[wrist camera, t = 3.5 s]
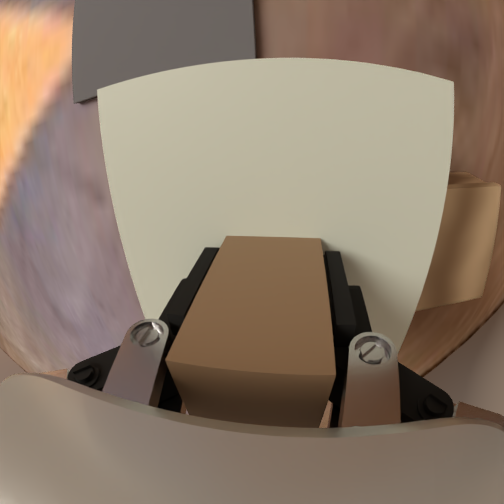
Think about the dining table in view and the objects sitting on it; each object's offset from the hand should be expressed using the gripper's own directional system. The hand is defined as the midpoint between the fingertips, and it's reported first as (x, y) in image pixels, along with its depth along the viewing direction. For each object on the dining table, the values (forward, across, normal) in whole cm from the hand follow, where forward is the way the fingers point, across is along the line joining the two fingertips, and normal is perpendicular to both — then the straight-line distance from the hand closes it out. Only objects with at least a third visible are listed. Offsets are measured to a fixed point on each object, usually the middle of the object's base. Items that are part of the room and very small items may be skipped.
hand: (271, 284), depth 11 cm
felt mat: (+14, +11, -20) cm, 27 cm away
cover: (+14, 0, 0) cm, 14 cm away
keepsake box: (+14, -14, +3) cm, 20 cm away
